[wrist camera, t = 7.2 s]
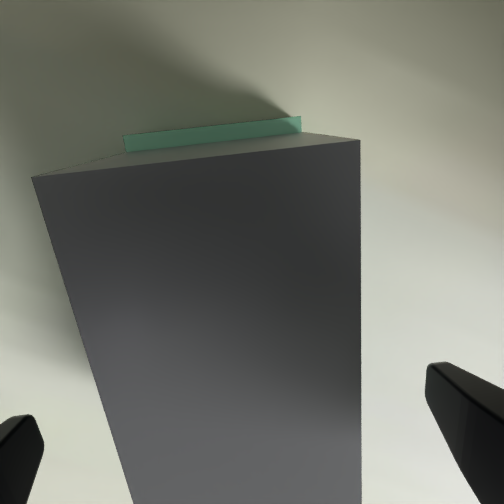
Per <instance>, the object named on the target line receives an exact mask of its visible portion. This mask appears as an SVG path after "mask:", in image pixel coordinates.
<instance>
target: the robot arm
mask: <svg viewBox="0 0 504 504" xmlns="http://www.w3.org/2000/svg"><path fill="white" fill-rule="evenodd" d="M425 397H426V401H427V403H428V406H429V408H430V410H431V412H432V414H433V416H434V418H435V420H436V422H437V424H438V426H439V428H440V430H441V432H442V434H443V436H444V438H445V440H446V442H447V444H448V446H449V448H450V451H451V453H452V455H453V457H454V459H455V461H456V462H457V464H458V466H459V468H460V470H461V472H462V474H463V475H464V477H465V479H466V480H467V482H468V484H469V485H470V487H471V489H472V490H473V492H474V493H475V495H476V497H477V498H478V500H479V502H480V503H481V504H504V389H502V388H500V387H498V386H496V385H494V384H492V383H490V382H488V381H485V380H483V379H481V378H479V377H477V376H475V375H473V374H471V373H469V372H467V371H465V370H463V369H461V368H459V367H457V366H455V365H453V364H451V363H449V362H437V363H431V364H429V365H428V366H427V370H426V383H425ZM43 452H44V441H43V438H42V435H41V433H40V430H39V428H38V425H37V423H36V420H35V418H34V417H33V416H32V415H29V414H27V415H19V416H13V417H10V418H9V419H7V420H6V421H4V422H3V423H2V424H0V504H27V501H28V498H29V495H30V492H31V489H32V486H33V483H34V480H35V477H36V474H37V471H38V468H39V465H40V462H41V459H42V456H43Z"/></svg>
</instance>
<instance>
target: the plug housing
mask: <svg viewBox="0 0 504 504" xmlns="http://www.w3.org/2000/svg"><path fill="white" fill-rule="evenodd" d="M31 178H32V182H33V185H34V188H35V191H36V194H37V198H38V201H39V204H40V207H41V210H42V213H43V217H44V220H45V223H46V226H47V229H48V233H49V236H50V239H51V242H52V245H53V249H54V252H55V255H56V258H57V261H58V264H59V268H60V271H61V274H62V277H63V280H64V284H65V287H66V290H67V293H68V296H69V299H70V303H71V306H72V309H73V312H74V315H75V319H76V322H77V325H78V328H79V331H80V335H81V338H82V341H83V344H84V347H85V350H86V354H87V357H88V360H89V363H90V366H91V370H92V373H93V376H94V379H95V382H96V386H97V389H98V392H99V395H100V398H101V401H102V405H103V408H104V411H105V414H106V417H107V421H108V424H109V427H110V430H111V433H112V437H113V440H114V443H115V446H116V449H117V452H118V456H119V459H120V462H121V465H122V468H123V472H124V475H125V478H126V481H127V484H128V488H129V491H130V494H131V497H132V500H133V503H134V504H362V481H361V194H360V140H358V139H350V138H343V137H336V136H329V135H321V134H314V133H307V132H300V133H291V134H282V135H273V136H265V137H256V138H247V139H238V140H229V141H221V142H212V143H203V144H194V145H185V146H177V147H168V148H159V149H150V150H141V151H133V152H126V153H122V154H118V155H114V156H110V157H107V158H103V159H99V160H95V161H91V162H87V163H84V164H80V165H76V166H72V167H68V168H64V169H61V170H57V171H53V172H49V173H45V174H41V175H38V176H34V177H31Z"/></svg>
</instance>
